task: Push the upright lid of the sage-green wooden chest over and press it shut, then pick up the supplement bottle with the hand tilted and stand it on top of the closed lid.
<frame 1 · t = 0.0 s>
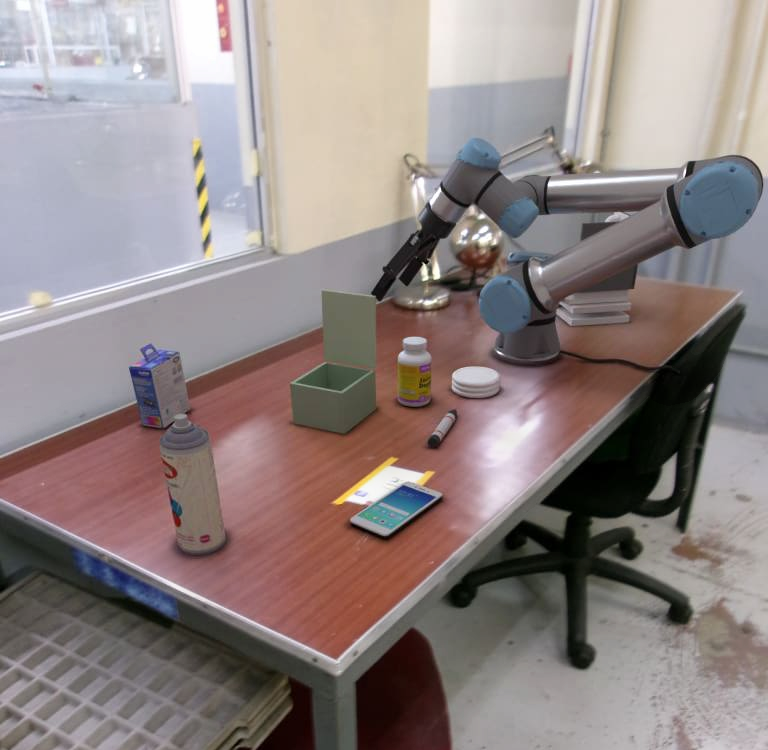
hand: (389, 289, 168), 15 cm above the table, tool tilted 35°, fingers open, 13 cm apart
aerosol can: (202, 543, 109), on the table
stack of books: (586, 316, 200), on the table
lid: (349, 329, 144), point 15 cm above the table, hinge at 92.0°
supplement bottle: (414, 402, 152), on the table
marker: (444, 431, 140), on the table
coaster: (475, 390, 157), on the table
chest: (335, 415, 147), on the table
ink cartridge box: (166, 418, 147), on the table
smartphone: (397, 511, 116), on the table
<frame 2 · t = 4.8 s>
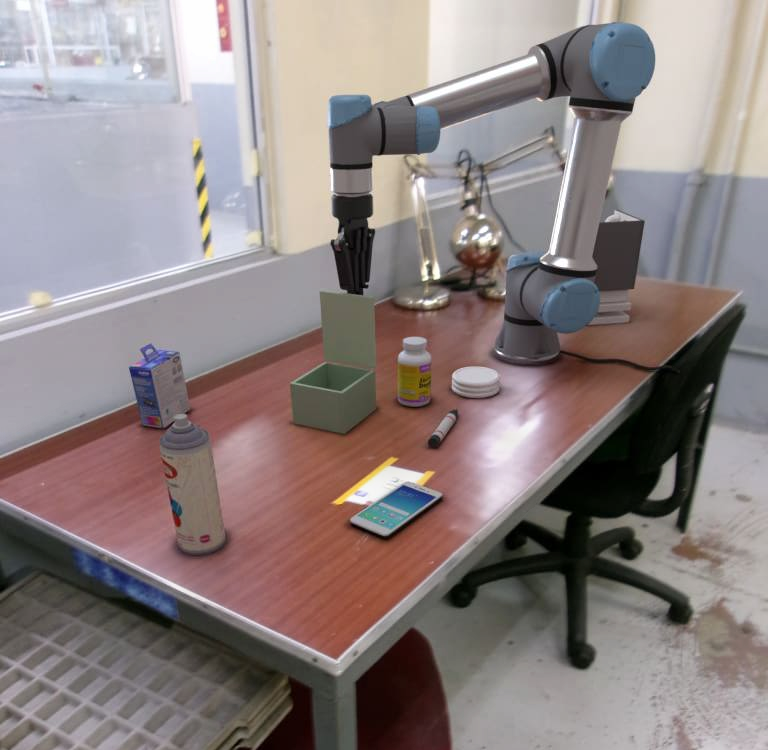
hand: (356, 322, 146), 16 cm above the table, tool pointing down, fingers closed
lid: (348, 329, 143), point 15 cm above the table, hinge at 89.2°, touching gripper
everything else where it was.
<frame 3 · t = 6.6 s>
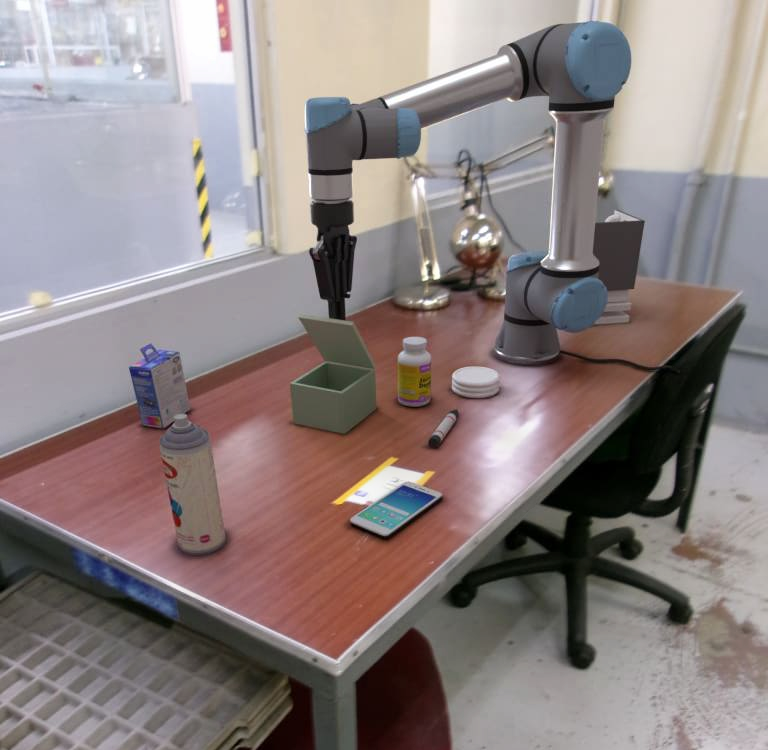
hand: (338, 333, 140), 16 cm above the table, tool pointing down, fingers closed
lid: (338, 342, 141), point 14 cm above the table, hinge at 53.6°, touching gripper
everything else where it was.
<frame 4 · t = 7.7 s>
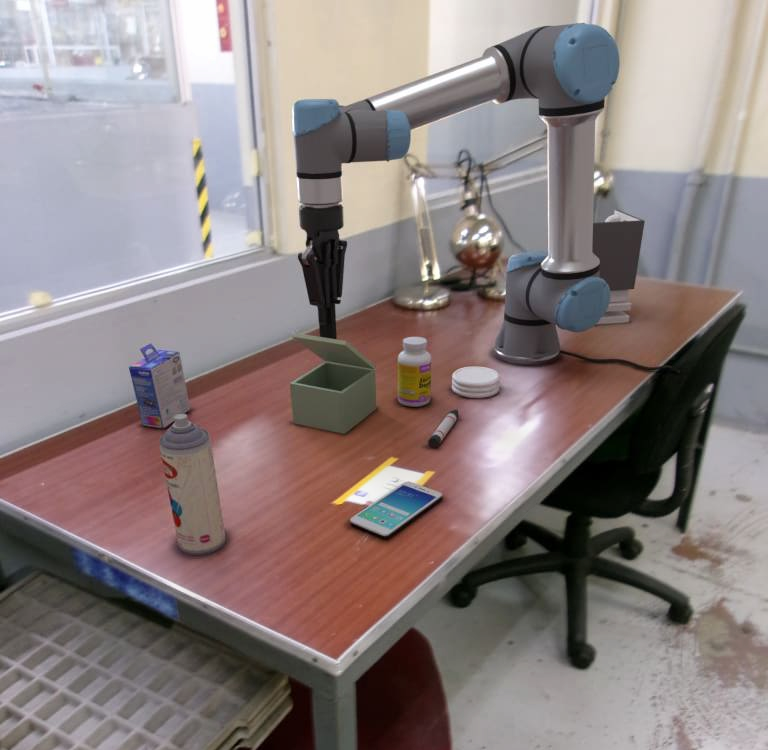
hand: (328, 340, 138), 16 cm above the table, tool pointing down, fingers closed
lid: (334, 351, 141), point 13 cm above the table, hinge at 37.4°, touching gripper
everything else where it was.
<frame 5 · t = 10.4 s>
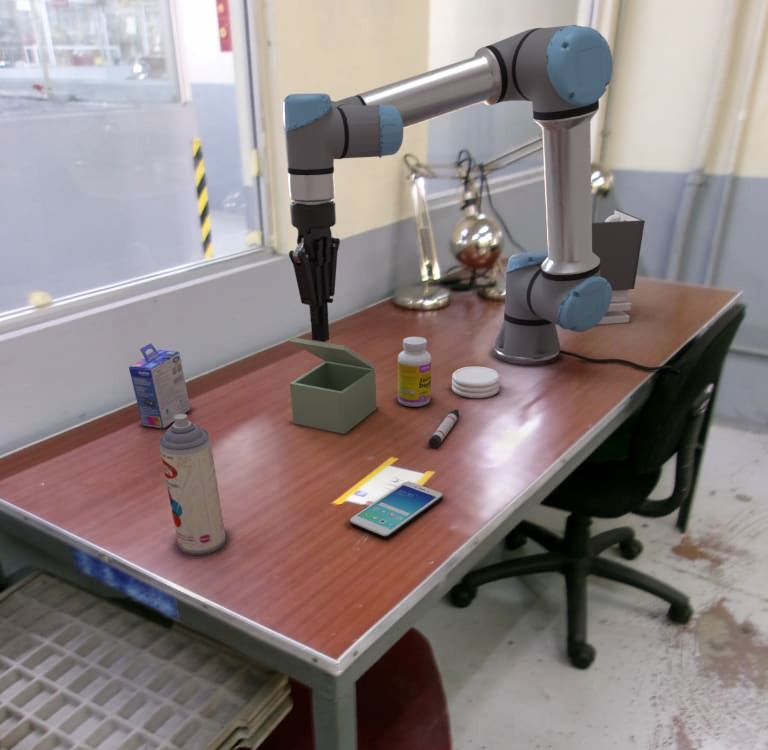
hand: (320, 339, 135), 17 cm above the table, tool pointing down, fingers closed
lid: (334, 353, 141), point 12 cm above the table, hinge at 33.5°
everything else where it was.
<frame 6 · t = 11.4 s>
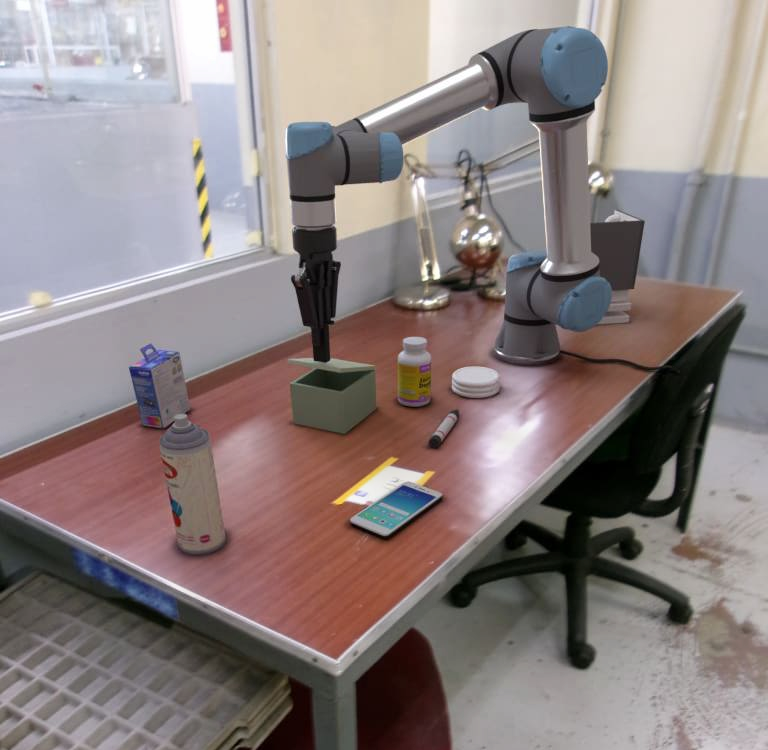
hand: (322, 360, 137), 13 cm above the table, tool pointing down, fingers closed
lid: (332, 364, 141), point 11 cm above the table, hinge at 16.7°, touching gripper
everything else where it was.
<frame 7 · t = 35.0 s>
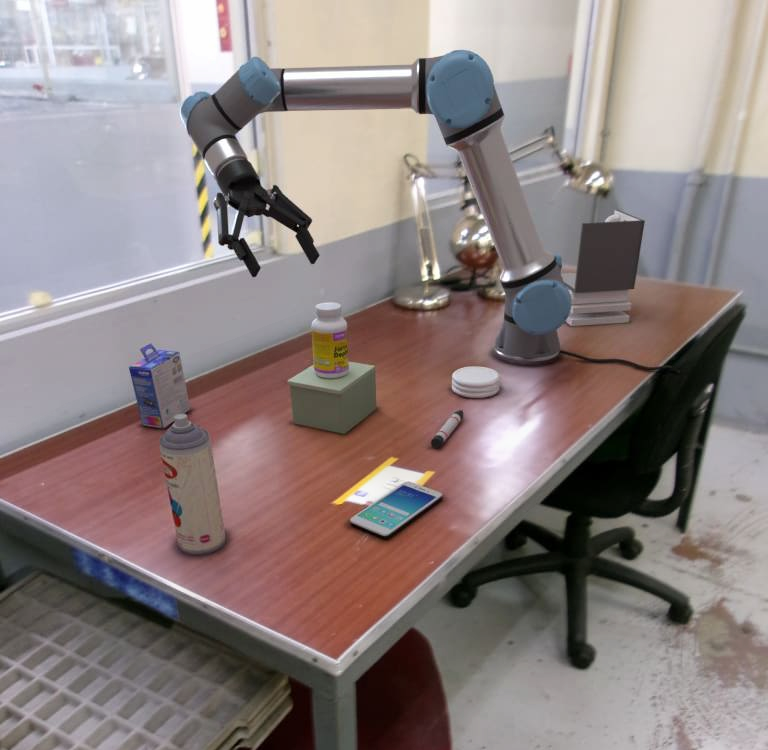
hand: (287, 266, 140), 27 cm above the table, tool tilted 45°, fingers open, 13 cm apart
lid: (332, 375, 142), point 9 cm above the table, hinge at -0.2°, touching chest, supplement bottle
supplement bottle: (331, 374, 142), point 9 cm above the table, touching lid
everything else where it was.
at the end: lid at +0° (first picture: +92°); supplement bottle inside the target area on the chest (0.0 cm from its centre), point 8.8 cm above the chest's base; supplement bottle tilted 0° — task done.
